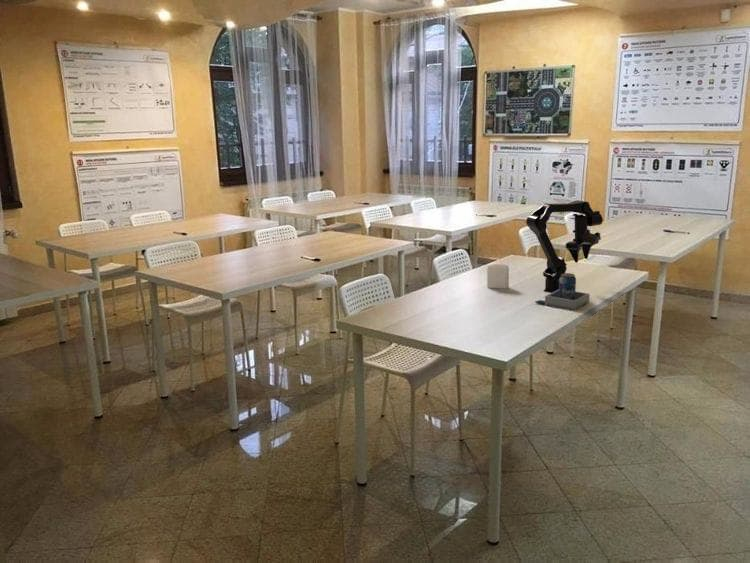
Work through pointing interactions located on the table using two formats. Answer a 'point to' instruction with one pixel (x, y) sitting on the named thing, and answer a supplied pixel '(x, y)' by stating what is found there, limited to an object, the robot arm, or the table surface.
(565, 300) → the tray
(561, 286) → the soda can
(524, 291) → the table surface
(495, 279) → the photo printer
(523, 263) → the table surface
